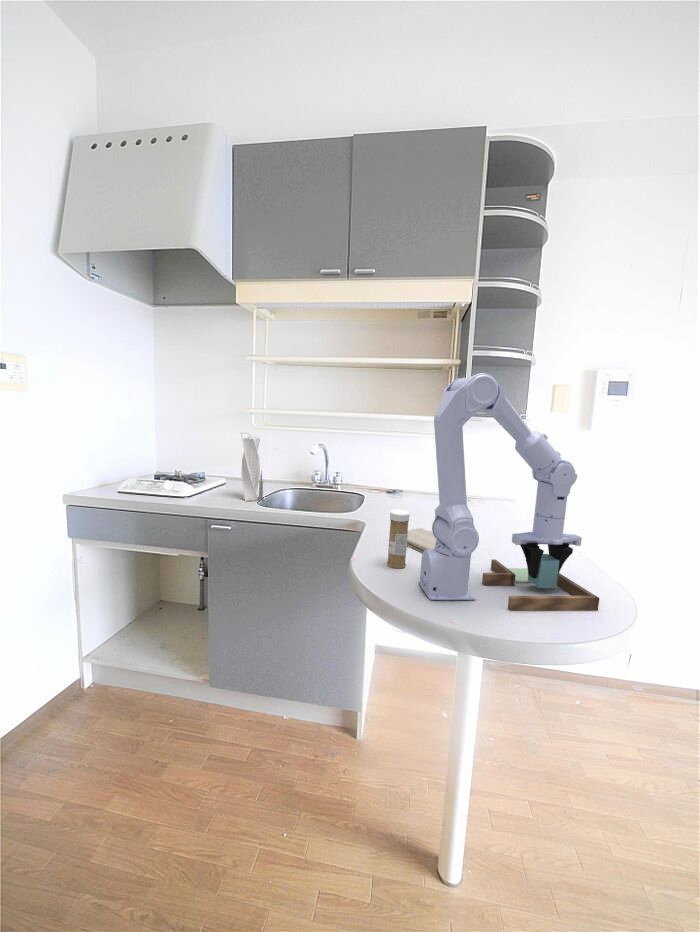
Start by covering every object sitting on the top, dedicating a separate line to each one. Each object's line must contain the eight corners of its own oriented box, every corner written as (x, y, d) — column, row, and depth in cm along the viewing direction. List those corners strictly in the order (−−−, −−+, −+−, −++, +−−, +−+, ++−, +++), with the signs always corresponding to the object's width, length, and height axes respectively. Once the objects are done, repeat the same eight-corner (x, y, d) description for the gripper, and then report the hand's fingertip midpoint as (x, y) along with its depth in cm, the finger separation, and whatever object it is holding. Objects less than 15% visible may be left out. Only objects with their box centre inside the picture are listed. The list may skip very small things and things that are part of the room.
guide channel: (510, 610, 71) (511, 598, 71) (467, 569, 91) (468, 559, 91) (597, 610, 73) (599, 598, 73) (536, 569, 93) (538, 559, 93)
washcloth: (432, 560, 97) (433, 548, 97) (388, 540, 112) (388, 530, 112) (463, 553, 104) (464, 542, 104) (417, 535, 119) (418, 525, 118)
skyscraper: (242, 502, 150) (243, 432, 146) (237, 498, 157) (238, 431, 153) (263, 501, 154) (265, 433, 151) (257, 497, 161) (258, 432, 158)
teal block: (538, 587, 79) (541, 560, 79) (527, 579, 83) (530, 553, 82) (556, 587, 80) (559, 560, 79) (544, 579, 84) (547, 553, 83)
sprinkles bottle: (385, 561, 93) (388, 508, 92) (403, 562, 94) (406, 509, 92) (389, 569, 89) (392, 513, 87) (408, 569, 89) (411, 514, 88)
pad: (516, 583, 84) (516, 581, 84) (499, 569, 92) (499, 568, 92) (548, 583, 85) (548, 581, 85) (529, 569, 93) (529, 568, 93)
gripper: (527, 519, 75) (520, 584, 77) (595, 520, 76) (586, 584, 78) (509, 510, 82) (503, 570, 83) (571, 512, 83) (564, 571, 85)
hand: (542, 576), depth 81 cm, fingers closed on teal block, 4 cm apart
